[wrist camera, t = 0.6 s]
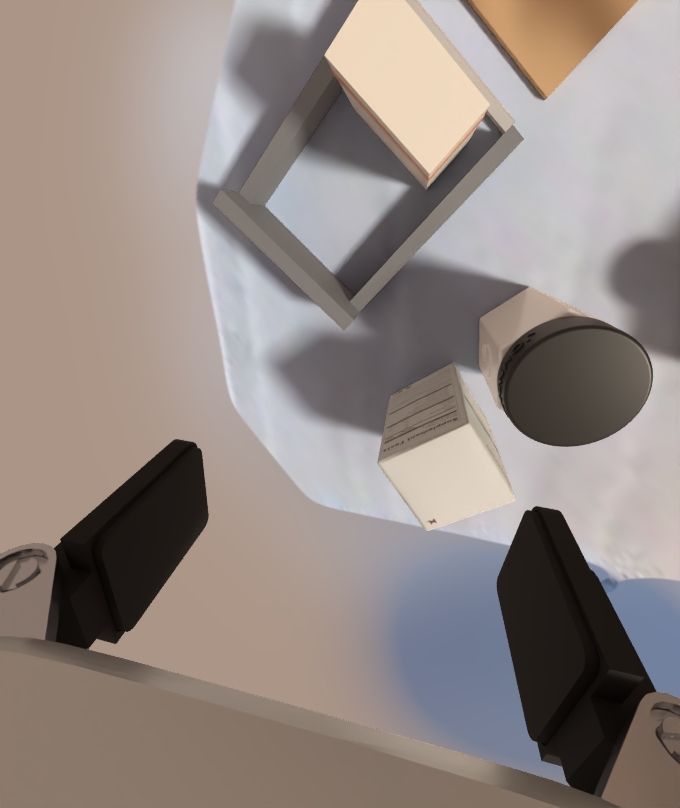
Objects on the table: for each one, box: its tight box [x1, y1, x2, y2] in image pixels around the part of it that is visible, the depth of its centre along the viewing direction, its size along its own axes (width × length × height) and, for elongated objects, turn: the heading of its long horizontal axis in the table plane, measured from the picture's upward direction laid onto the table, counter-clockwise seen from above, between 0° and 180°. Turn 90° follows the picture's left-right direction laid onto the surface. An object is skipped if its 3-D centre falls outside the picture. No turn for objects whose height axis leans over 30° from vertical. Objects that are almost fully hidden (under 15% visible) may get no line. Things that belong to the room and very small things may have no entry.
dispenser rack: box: [213, 0, 524, 330], centre depth 27 cm, size 18×13×6 cm
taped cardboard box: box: [325, 0, 490, 190], centre depth 23 cm, size 4×8×10 cm, turn 48°
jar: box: [479, 287, 653, 447], centre depth 27 cm, size 9×8×12 cm
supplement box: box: [377, 363, 515, 531], centre depth 31 cm, size 7×7×13 cm
